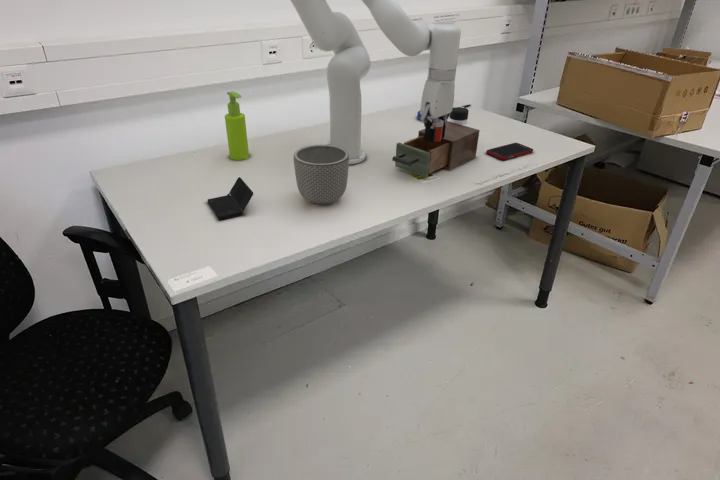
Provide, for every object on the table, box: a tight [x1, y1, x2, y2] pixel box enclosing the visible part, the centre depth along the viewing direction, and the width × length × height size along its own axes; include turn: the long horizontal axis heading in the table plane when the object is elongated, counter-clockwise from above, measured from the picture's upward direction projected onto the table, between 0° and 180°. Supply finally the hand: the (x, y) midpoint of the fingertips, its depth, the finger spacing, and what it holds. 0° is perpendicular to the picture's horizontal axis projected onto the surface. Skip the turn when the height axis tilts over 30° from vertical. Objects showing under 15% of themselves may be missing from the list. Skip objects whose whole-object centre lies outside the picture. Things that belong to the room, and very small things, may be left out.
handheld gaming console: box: [207, 176, 254, 221], centre depth 123 cm, size 12×7×10 cm
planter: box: [293, 143, 350, 207], centre depth 125 cm, size 14×14×13 cm
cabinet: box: [417, 121, 481, 171], centre depth 153 cm, size 15×13×9 cm
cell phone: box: [485, 142, 534, 161], centre depth 160 cm, size 8×15×1 cm, turn 123°
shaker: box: [429, 118, 444, 142], centre depth 141 cm, size 4×4×6 cm
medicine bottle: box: [447, 106, 471, 127], centre depth 164 cm, size 7×7×12 cm
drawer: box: [392, 135, 451, 179], centre depth 144 cm, size 18×11×7 cm, turn 137°
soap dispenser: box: [224, 91, 250, 161], centre depth 148 cm, size 6×7×20 cm
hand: (434, 138), depth 142 cm, fingers closed on shaker, 4 cm apart
